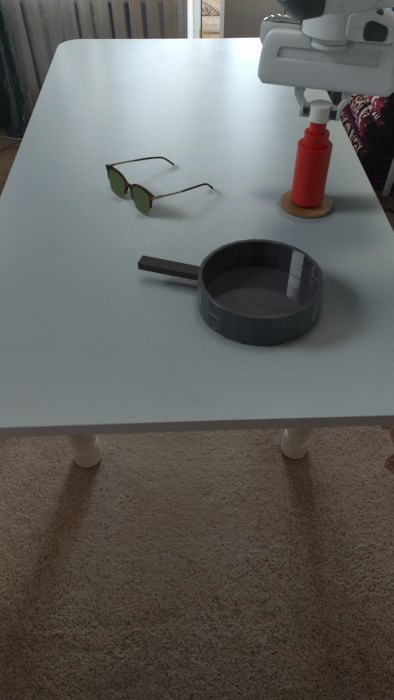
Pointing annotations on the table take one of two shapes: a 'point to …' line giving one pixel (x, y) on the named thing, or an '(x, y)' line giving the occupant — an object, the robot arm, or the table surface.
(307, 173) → the sauce bottle
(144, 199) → the sunglasses
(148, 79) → the table surface
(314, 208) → the coaster
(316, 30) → the robot arm
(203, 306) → the pan
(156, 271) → the pan handle
